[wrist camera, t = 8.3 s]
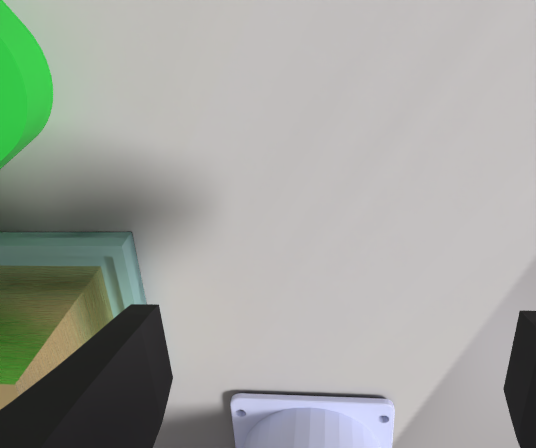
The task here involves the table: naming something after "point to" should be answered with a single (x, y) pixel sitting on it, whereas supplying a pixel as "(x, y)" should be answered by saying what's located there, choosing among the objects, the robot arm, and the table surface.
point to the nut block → (46, 320)
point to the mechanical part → (21, 86)
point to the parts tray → (81, 258)
